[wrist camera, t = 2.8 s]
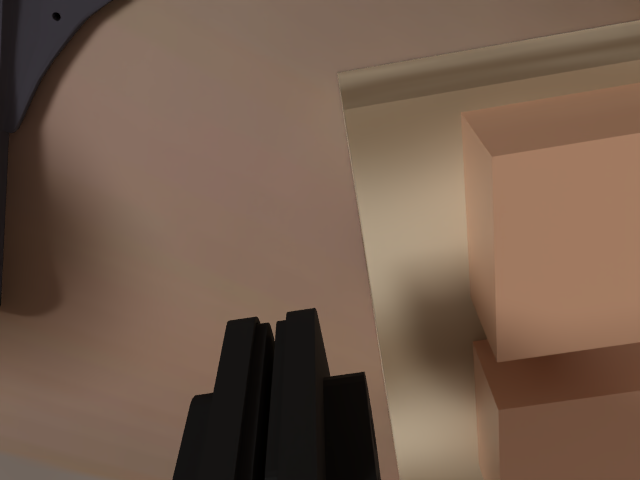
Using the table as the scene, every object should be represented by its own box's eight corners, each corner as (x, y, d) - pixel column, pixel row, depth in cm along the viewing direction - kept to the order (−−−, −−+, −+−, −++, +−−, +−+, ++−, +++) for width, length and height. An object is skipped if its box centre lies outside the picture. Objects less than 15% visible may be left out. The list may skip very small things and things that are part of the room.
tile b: (472, 341, 16) (498, 410, 14) (660, 314, 16) (715, 380, 14) (478, 464, 19) (501, 538, 17) (641, 442, 19) (685, 515, 17)
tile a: (461, 112, 13) (492, 157, 11) (695, 73, 13) (775, 110, 11) (470, 296, 16) (497, 362, 14) (667, 267, 15) (727, 329, 13)
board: (337, 72, 16) (344, 109, 13) (693, 10, 15) (773, 36, 13) (390, 423, 22) (402, 494, 20) (641, 389, 22) (687, 457, 19)
